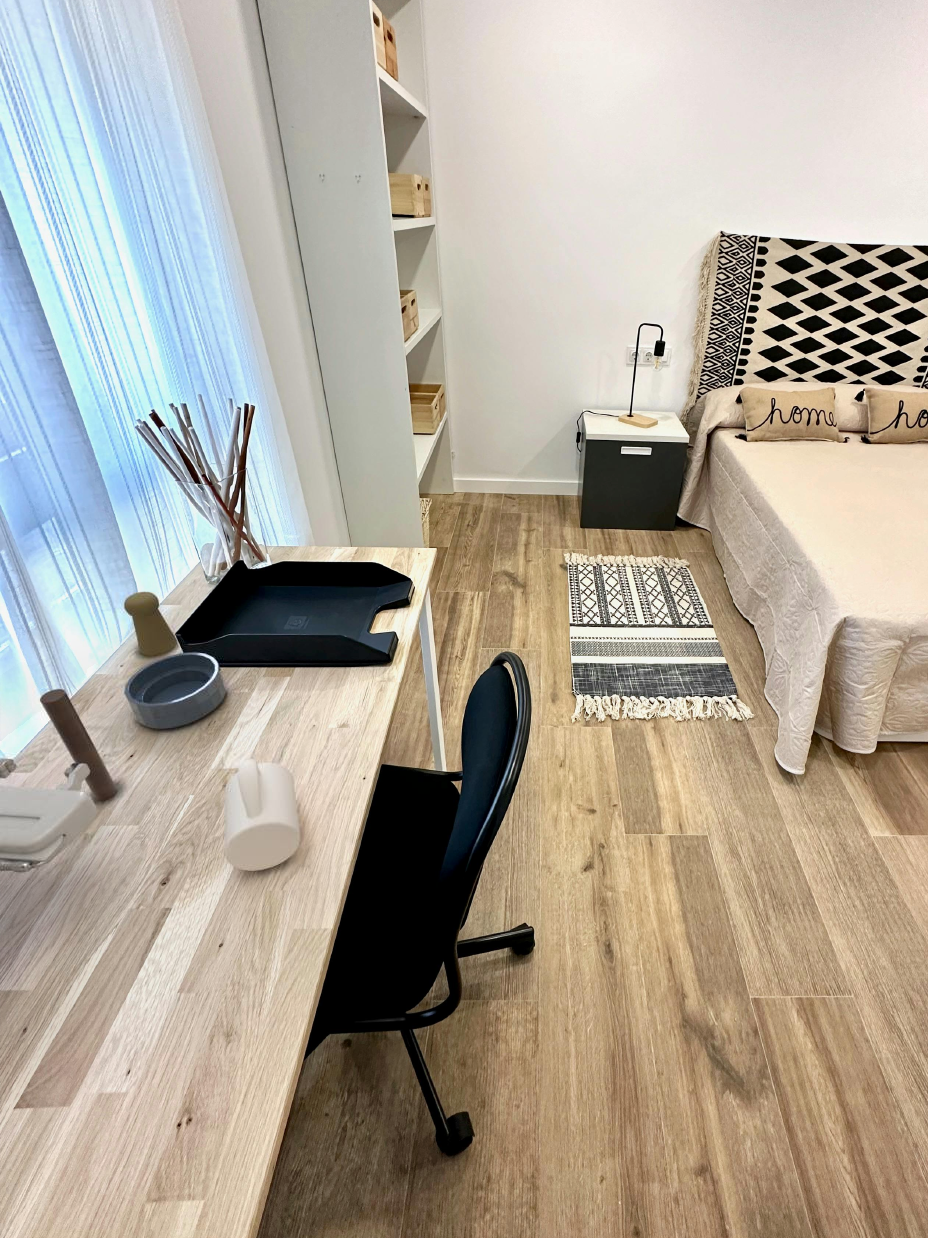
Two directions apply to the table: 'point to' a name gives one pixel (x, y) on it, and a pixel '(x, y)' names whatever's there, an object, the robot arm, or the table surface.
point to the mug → (260, 816)
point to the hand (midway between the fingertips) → (45, 764)
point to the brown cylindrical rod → (78, 742)
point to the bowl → (175, 690)
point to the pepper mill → (149, 624)
